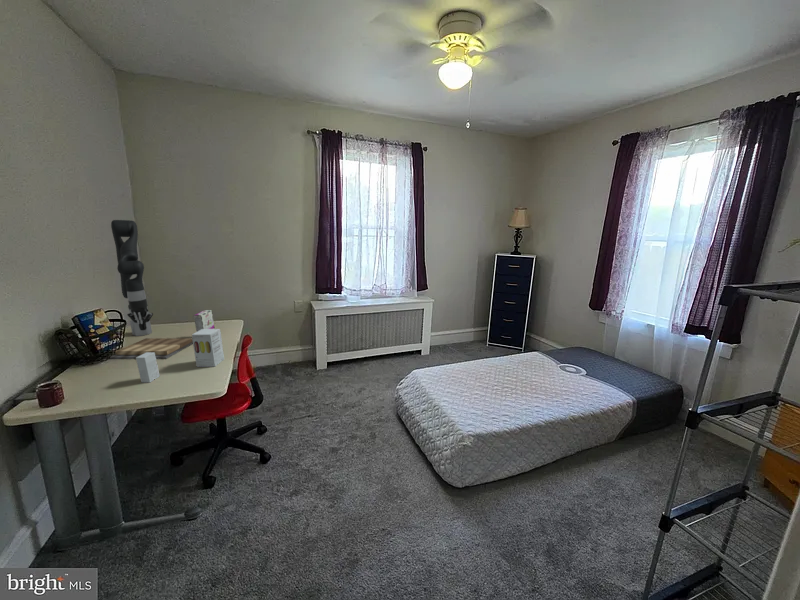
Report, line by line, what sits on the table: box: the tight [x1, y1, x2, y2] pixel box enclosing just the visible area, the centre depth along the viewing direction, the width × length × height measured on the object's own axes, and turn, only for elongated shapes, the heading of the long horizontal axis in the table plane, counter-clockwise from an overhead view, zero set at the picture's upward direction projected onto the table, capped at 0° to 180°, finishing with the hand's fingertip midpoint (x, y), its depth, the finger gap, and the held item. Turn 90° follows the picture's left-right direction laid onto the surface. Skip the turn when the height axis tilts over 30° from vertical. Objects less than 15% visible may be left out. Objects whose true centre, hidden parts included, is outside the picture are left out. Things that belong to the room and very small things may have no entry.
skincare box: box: [135, 352, 161, 383], centre depth 148 cm, size 6×4×12 cm
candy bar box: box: [193, 309, 216, 332], centre depth 201 cm, size 11×5×16 cm, turn 179°
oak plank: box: [115, 344, 180, 355], centre depth 179 cm, size 28×10×2 cm, turn 88°
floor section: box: [109, 337, 193, 360], centre depth 184 cm, size 30×24×3 cm
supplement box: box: [191, 328, 225, 368], centre depth 164 cm, size 10×9×17 cm
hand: (143, 329), depth 178 cm, fingers closed
